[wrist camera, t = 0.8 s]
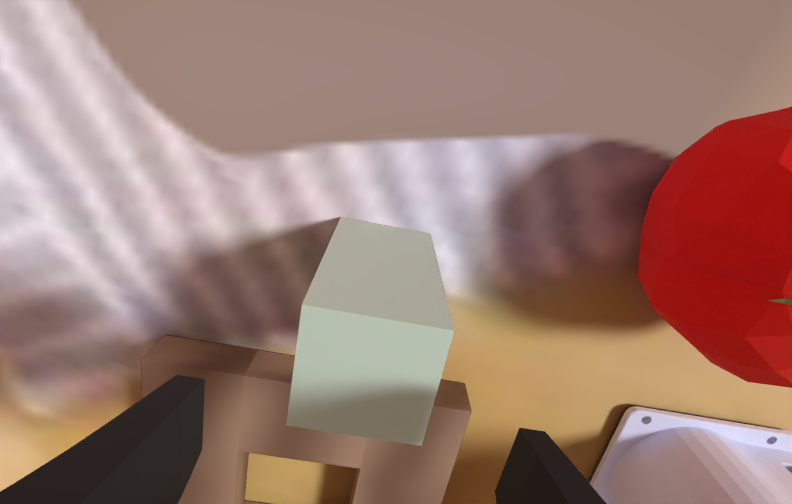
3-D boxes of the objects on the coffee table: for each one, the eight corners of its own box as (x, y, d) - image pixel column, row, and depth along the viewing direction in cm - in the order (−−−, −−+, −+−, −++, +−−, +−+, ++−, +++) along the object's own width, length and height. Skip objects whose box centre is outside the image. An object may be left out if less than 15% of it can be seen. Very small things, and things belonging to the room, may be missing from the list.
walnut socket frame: (464, 383, 21) (471, 411, 19) (405, 573, 26) (406, 609, 25) (164, 334, 20) (141, 359, 18) (165, 542, 25) (147, 578, 23)
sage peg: (430, 233, 18) (454, 330, 11) (411, 312, 20) (421, 445, 12) (340, 216, 18) (301, 304, 11) (328, 297, 19) (286, 425, 12)
